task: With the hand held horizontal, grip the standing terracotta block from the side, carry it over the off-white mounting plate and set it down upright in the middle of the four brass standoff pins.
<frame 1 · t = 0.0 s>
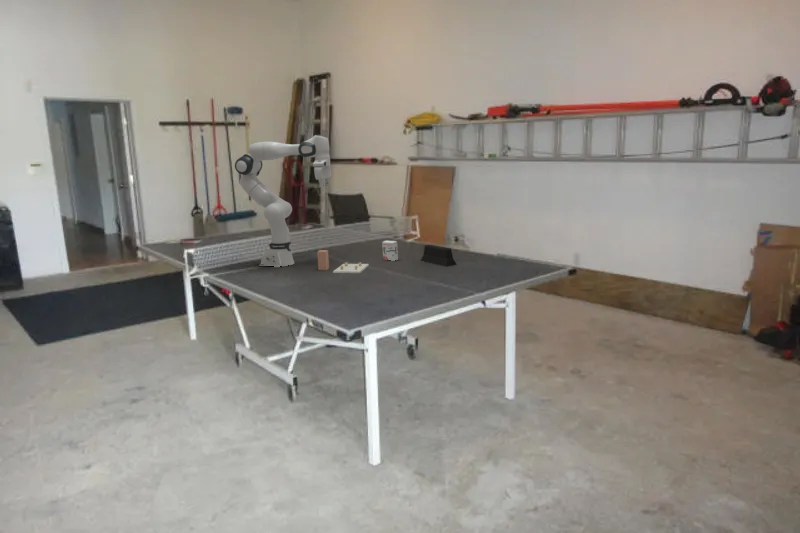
hand: (324, 186, 339), 48 cm above the table, tool pointing down, fingers open, 8 cm apart
ink box: (390, 260, 356), on the table
barrier: (438, 263, 343), on the table
mounting plate: (351, 269, 335), on the table
terracotta block: (323, 269, 338), on the table
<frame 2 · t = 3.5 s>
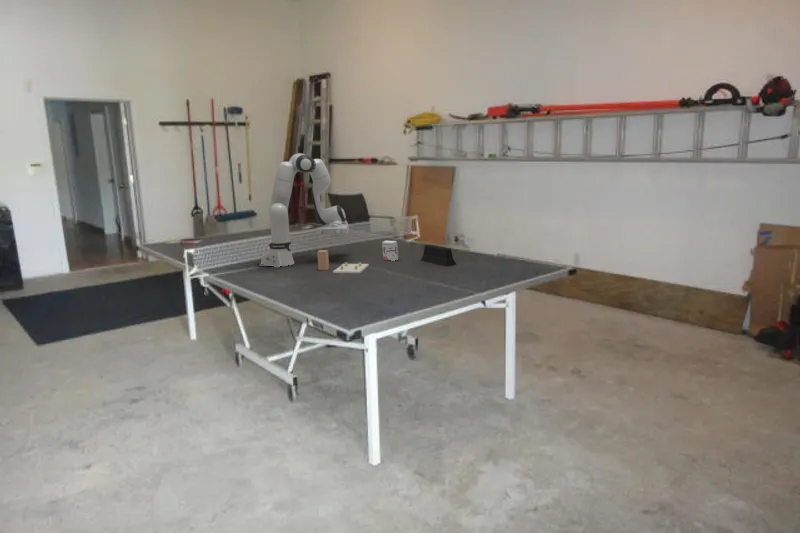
hand: (328, 232, 346), 20 cm above the table, tool horizontal, fingers open, 8 cm apart
nothing on the table moved.
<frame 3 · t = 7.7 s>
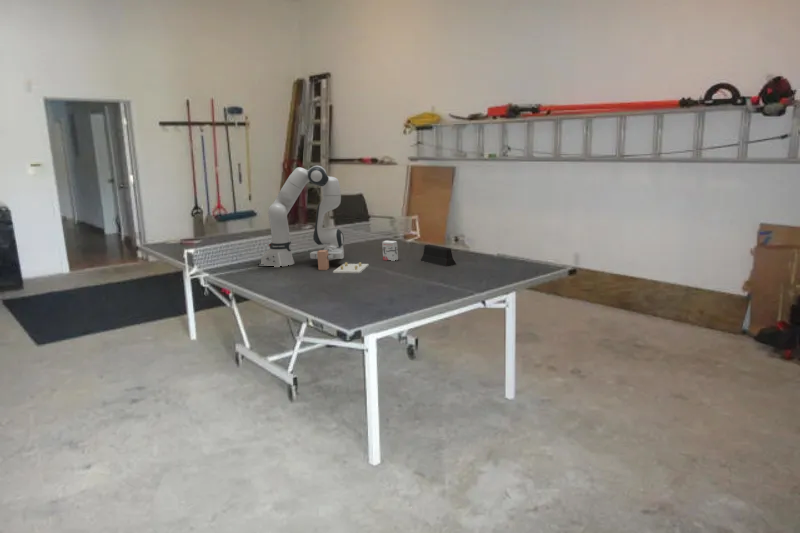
hand: (322, 257, 336), 7 cm above the table, tool horizontal, fingers closed on terracotta block, 5 cm apart
terracotta block: (323, 269, 338), on the table, touching gripper
everything else where it was.
when the fingers open (9 cm above the table, at t = 14.0 s): terracotta block stays where it is, resting on mounting plate.
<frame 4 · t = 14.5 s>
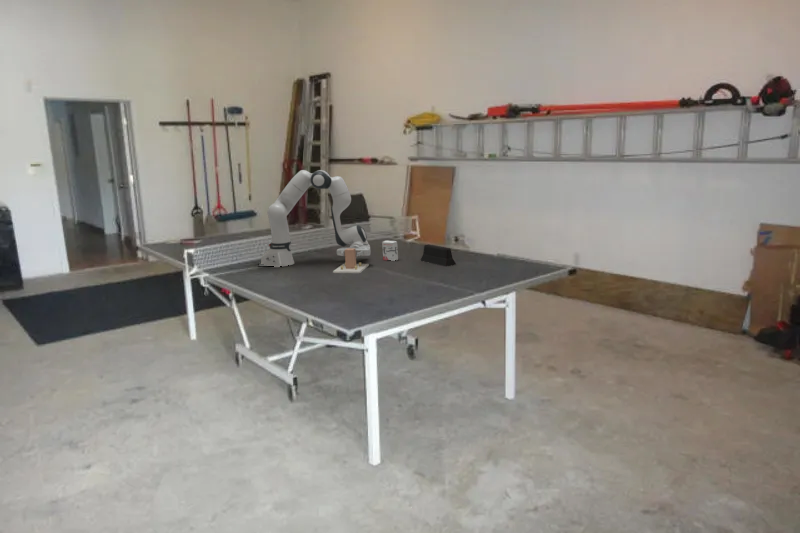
hand: (350, 254, 332), 9 cm above the table, tool horizontal, fingers open, 8 cm apart
terracotta block: (351, 267, 335), point 1 cm above the table, touching mounting plate
everything else where it was.
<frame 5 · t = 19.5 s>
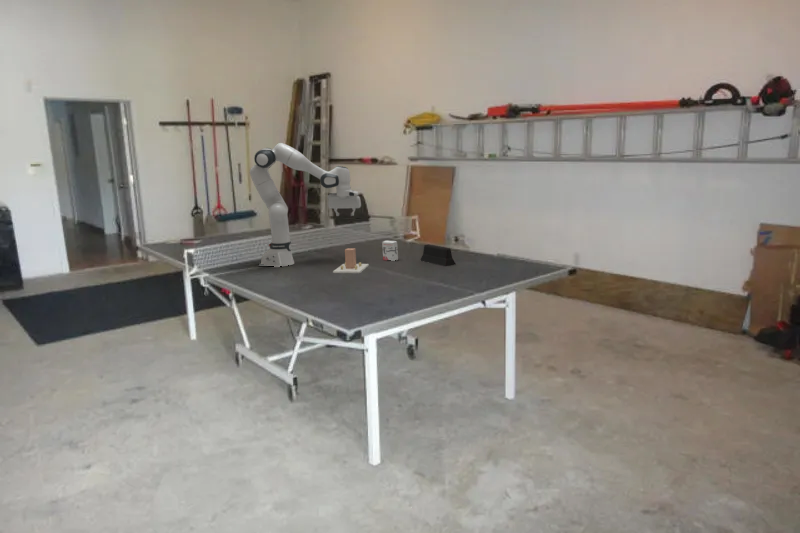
hand: (345, 215, 349), 29 cm above the table, tool pointing down, fingers open, 8 cm apart
nothing on the table moved.
at the end: terracotta block 0.0 cm off-centre on the mounting plate, point 1.0 cm above the mounting plate's base; terracotta block tilted 0°; the gripper is holding nothing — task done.
